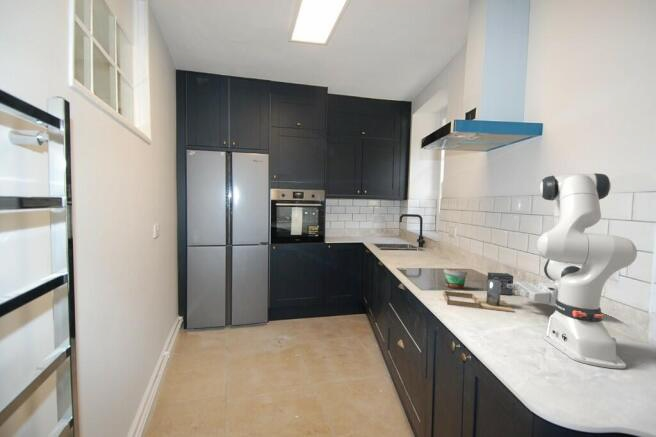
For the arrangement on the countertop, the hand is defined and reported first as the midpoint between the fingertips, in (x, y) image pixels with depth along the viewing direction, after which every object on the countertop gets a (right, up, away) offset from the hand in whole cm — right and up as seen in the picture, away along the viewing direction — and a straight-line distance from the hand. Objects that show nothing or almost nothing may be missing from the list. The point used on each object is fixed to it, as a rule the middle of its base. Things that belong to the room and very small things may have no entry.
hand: (511, 288), depth 132 cm
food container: (-14, -6, +26) cm, 30 cm away
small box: (+7, -8, +21) cm, 23 cm away
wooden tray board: (-14, -8, +4) cm, 16 cm away
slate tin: (-7, -8, +3) cm, 11 cm away
